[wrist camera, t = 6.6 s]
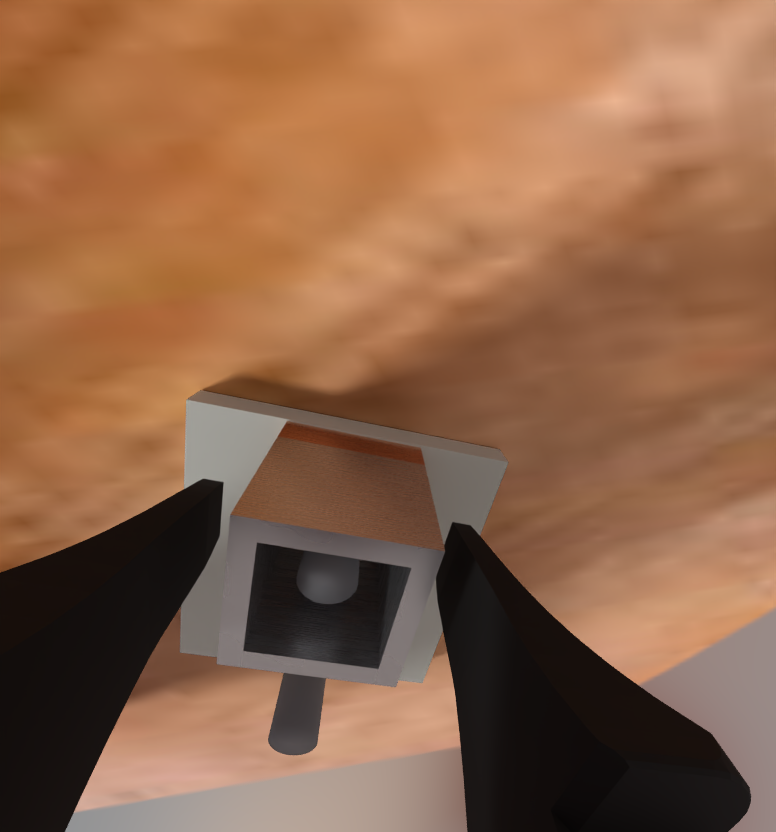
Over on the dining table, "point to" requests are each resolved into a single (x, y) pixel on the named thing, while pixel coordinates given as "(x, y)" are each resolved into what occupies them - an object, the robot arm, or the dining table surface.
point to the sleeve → (336, 535)
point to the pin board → (243, 452)
